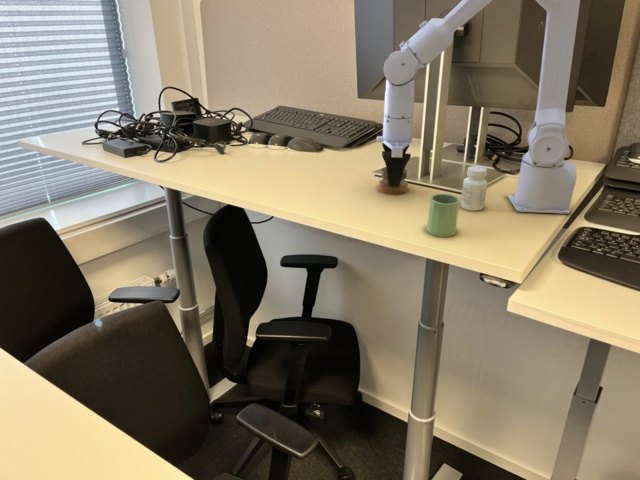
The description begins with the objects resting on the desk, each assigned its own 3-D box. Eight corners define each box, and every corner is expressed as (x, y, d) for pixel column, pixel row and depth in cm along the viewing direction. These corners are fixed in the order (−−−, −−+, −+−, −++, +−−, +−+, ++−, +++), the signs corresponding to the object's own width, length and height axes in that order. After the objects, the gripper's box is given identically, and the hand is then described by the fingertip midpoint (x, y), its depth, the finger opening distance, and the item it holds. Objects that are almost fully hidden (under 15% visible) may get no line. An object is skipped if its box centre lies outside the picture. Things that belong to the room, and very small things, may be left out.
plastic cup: (453, 225, 83) (457, 194, 81) (457, 237, 79) (461, 205, 76) (426, 224, 84) (429, 192, 81) (428, 236, 79) (431, 203, 77)
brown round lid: (405, 173, 100) (406, 166, 100) (406, 181, 96) (407, 174, 95) (381, 172, 101) (381, 165, 100) (381, 180, 96) (381, 173, 96)
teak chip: (406, 184, 102) (407, 178, 101) (408, 194, 96) (408, 188, 96) (379, 183, 102) (379, 177, 102) (378, 193, 97) (379, 187, 96)
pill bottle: (480, 202, 92) (486, 165, 89) (485, 211, 89) (492, 172, 85) (458, 202, 93) (463, 164, 89) (462, 210, 89) (467, 172, 85)
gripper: (378, 107, 99) (375, 169, 105) (377, 123, 86) (374, 192, 93) (412, 108, 98) (407, 170, 105) (415, 124, 86) (410, 193, 92)
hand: (393, 180), depth 99 cm, fingers closed on brown round lid, 5 cm apart
